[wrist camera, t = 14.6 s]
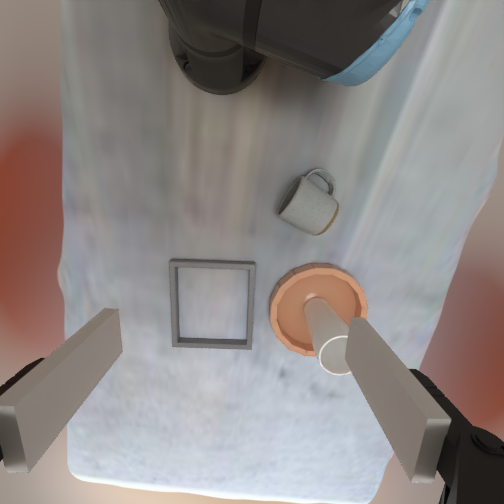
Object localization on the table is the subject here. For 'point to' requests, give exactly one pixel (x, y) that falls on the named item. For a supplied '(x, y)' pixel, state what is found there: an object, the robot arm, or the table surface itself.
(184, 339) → the tray
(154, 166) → the table surface
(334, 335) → the drinking glass
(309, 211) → the ceramic mug
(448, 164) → the table surface
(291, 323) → the bowl
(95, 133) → the table surface
